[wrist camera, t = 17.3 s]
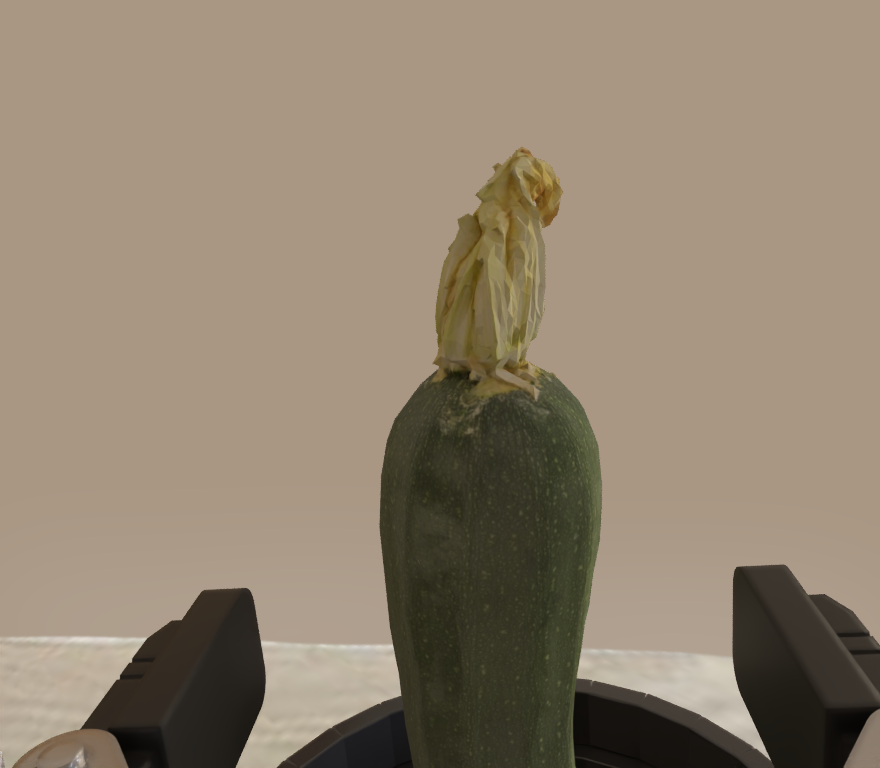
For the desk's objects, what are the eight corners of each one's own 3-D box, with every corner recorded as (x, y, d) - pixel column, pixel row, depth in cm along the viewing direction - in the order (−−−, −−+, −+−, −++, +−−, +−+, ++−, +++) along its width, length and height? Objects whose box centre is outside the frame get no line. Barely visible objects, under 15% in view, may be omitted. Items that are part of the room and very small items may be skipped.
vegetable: (454, 1145, 17) (337, 160, 12) (427, 954, 21) (332, 165, 16) (655, 1096, 17) (628, 134, 12) (590, 920, 22) (549, 145, 16)
